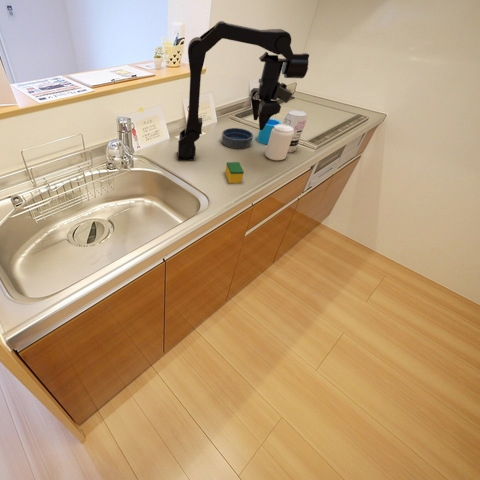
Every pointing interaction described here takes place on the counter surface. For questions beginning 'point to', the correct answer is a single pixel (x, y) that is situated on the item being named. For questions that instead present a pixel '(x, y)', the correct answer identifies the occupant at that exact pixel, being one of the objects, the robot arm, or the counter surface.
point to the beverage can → (279, 142)
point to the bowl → (236, 138)
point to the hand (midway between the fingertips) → (258, 124)
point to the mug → (267, 131)
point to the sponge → (234, 172)
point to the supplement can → (295, 126)
